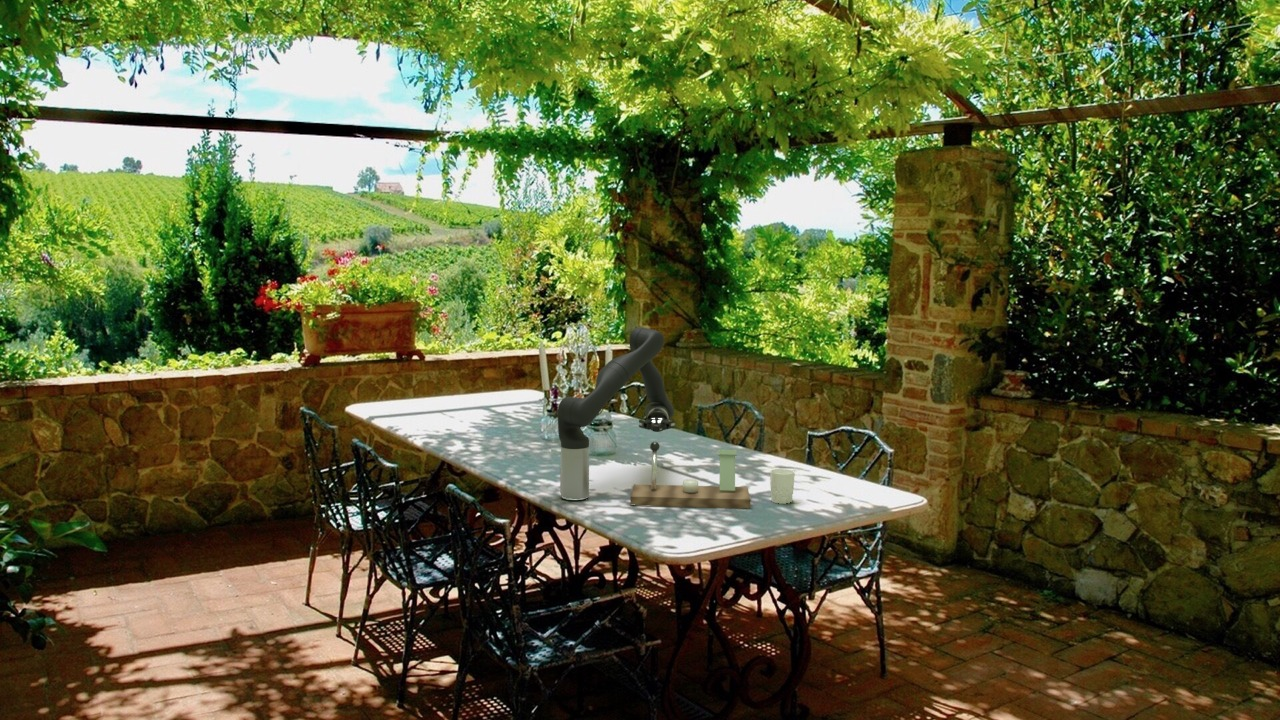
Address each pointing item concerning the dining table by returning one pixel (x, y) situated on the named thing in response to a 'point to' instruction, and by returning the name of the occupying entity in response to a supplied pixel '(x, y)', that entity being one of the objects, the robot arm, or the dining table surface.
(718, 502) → the walnut switch board
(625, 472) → the dining table surface
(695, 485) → the ivory push button
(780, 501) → the white cup
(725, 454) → the sage-green paddle lever
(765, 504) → the dining table surface
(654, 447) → the steel toggle lever
